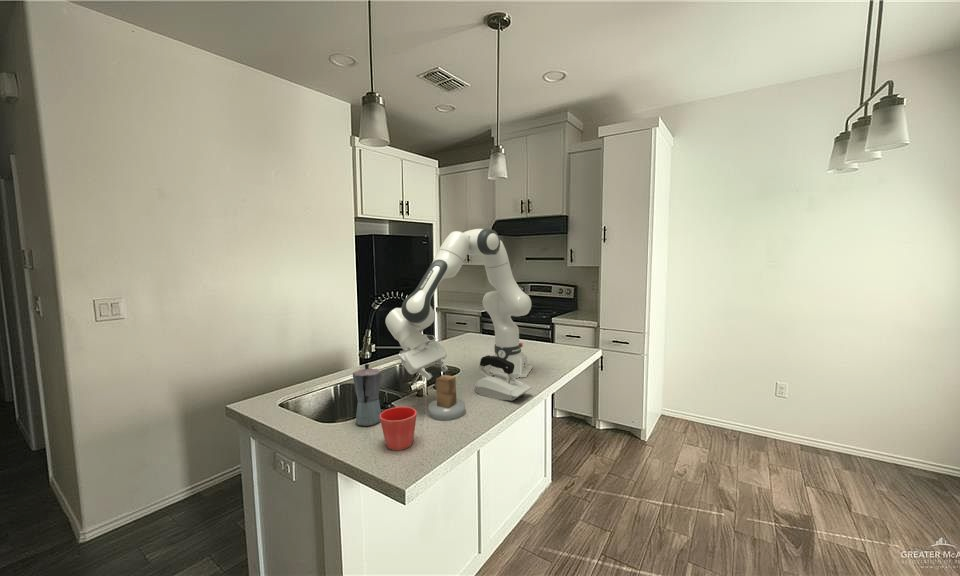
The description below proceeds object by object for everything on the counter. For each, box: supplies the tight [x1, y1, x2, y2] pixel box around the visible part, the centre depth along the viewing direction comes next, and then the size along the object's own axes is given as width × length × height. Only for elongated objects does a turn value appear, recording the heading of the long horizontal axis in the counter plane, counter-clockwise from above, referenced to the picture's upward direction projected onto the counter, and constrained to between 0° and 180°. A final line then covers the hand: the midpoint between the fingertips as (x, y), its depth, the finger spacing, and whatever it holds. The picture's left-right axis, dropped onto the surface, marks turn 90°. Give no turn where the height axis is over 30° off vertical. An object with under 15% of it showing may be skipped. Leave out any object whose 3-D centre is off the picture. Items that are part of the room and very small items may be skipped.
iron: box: [473, 354, 533, 401], centre depth 153 cm, size 11×24×15 cm, turn 53°
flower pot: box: [380, 406, 418, 451], centre depth 115 cm, size 11×11×10 cm
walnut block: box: [435, 374, 457, 409], centre depth 136 cm, size 5×5×10 cm
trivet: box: [428, 397, 466, 422], centre depth 137 cm, size 13×13×3 cm
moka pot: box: [352, 363, 382, 427], centre depth 131 cm, size 10×15×20 cm, turn 14°
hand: (438, 374), depth 138 cm, fingers open, 8 cm apart
